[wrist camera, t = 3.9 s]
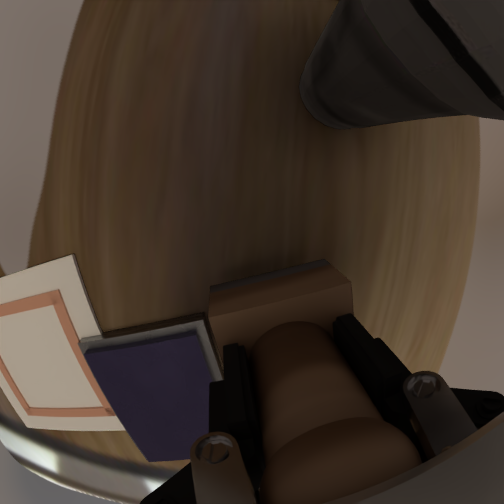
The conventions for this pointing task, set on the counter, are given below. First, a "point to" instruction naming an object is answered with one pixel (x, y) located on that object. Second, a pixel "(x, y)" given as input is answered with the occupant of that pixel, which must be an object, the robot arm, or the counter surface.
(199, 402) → the ink pad
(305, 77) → the beverage cup
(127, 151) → the counter surface
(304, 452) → the stamp
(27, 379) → the print card
